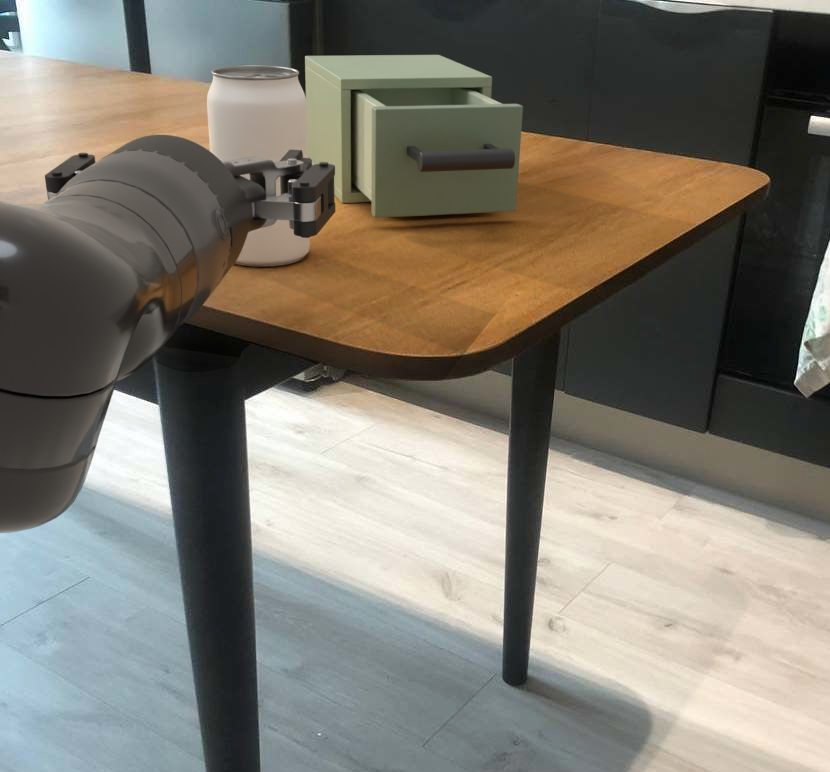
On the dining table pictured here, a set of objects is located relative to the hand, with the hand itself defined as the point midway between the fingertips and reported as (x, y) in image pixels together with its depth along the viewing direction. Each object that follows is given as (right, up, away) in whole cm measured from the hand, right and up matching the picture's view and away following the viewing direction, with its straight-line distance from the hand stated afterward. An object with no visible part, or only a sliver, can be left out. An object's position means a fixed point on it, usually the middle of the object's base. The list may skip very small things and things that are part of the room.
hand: (225, 165), depth 63 cm
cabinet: (+9, +10, +34) cm, 37 cm away
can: (0, -2, +13) cm, 13 cm away
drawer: (+12, +5, +24) cm, 27 cm away
